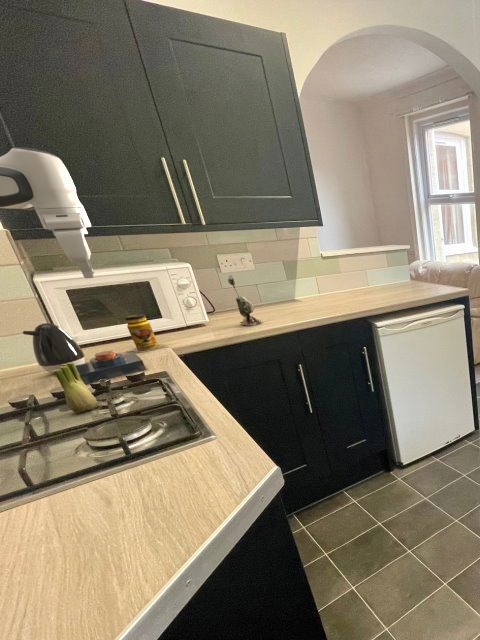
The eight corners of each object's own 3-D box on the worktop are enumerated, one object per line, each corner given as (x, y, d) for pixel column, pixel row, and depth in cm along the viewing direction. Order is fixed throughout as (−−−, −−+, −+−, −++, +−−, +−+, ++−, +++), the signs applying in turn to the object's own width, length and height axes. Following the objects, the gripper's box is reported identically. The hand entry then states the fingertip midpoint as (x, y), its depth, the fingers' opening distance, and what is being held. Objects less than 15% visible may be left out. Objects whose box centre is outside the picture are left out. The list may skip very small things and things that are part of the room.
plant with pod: (239, 329, 167) (222, 278, 159) (240, 322, 176) (224, 274, 168) (262, 325, 171) (247, 275, 163) (261, 319, 180) (247, 272, 172)
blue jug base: (84, 385, 119) (76, 368, 117) (79, 375, 126) (71, 360, 124) (146, 369, 128) (139, 354, 126) (138, 361, 135) (131, 347, 133)
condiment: (147, 351, 145) (133, 318, 140) (126, 351, 146) (111, 318, 141) (166, 345, 151) (153, 312, 146) (146, 344, 153) (132, 312, 148)
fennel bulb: (80, 416, 100) (55, 370, 95) (64, 415, 101) (39, 369, 96) (106, 405, 105) (84, 360, 100) (90, 404, 106) (68, 360, 101)
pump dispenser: (35, 376, 127) (8, 328, 121) (75, 364, 136) (52, 318, 130) (59, 378, 124) (33, 329, 118) (98, 365, 134) (76, 319, 127)
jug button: (98, 362, 122) (95, 356, 122) (95, 359, 125) (93, 353, 124) (117, 357, 125) (115, 352, 125) (115, 354, 128) (112, 349, 127)
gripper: (51, 221, 112) (75, 274, 117) (44, 222, 98) (71, 282, 103) (83, 219, 115) (105, 271, 121) (80, 220, 101) (105, 278, 107)
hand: (89, 276), depth 112 cm, fingers open, 8 cm apart
